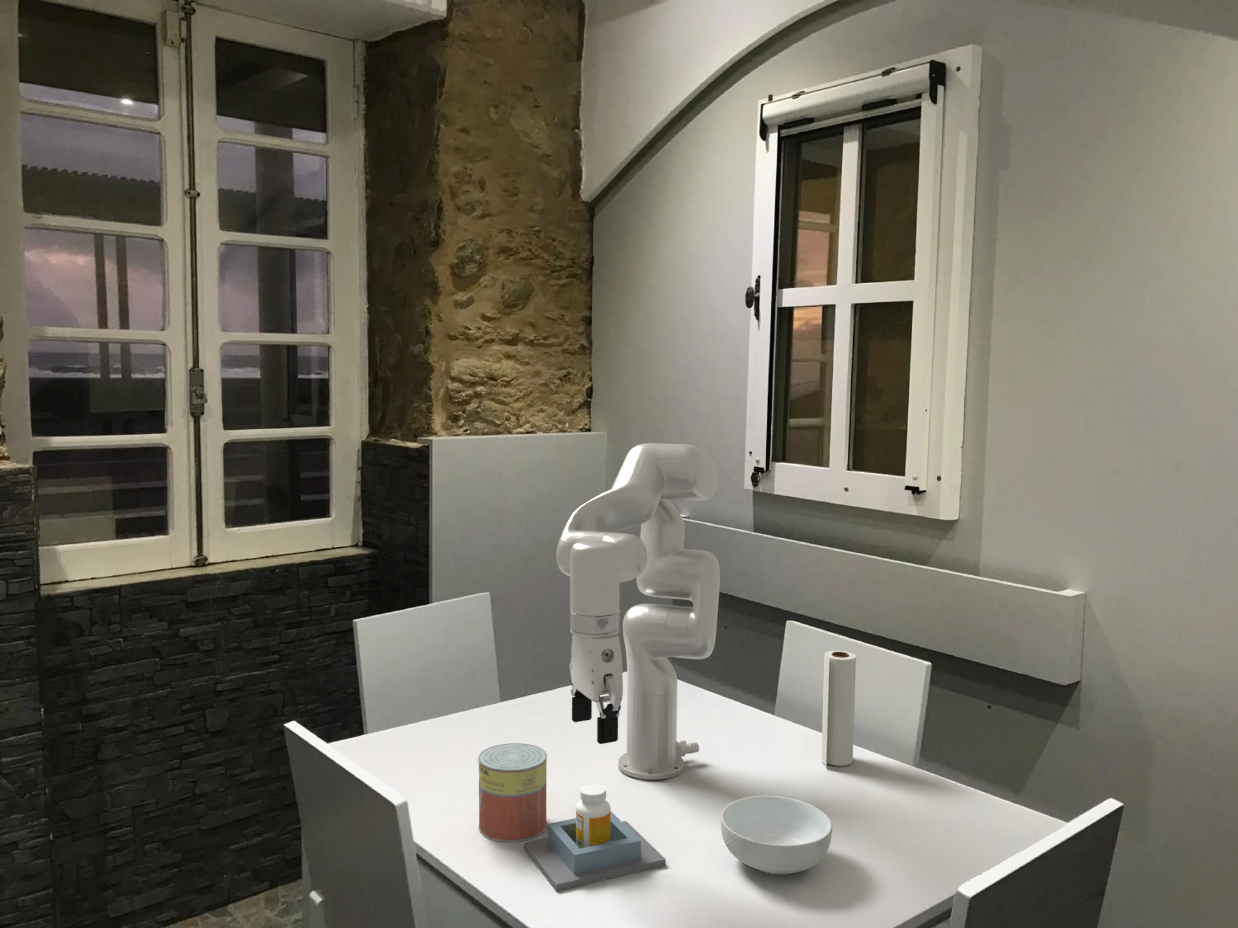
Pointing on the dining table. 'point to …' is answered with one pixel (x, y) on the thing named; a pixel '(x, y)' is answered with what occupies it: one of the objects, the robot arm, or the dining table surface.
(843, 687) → the paper towel roll
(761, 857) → the cereal bowl
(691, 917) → the dining table surface
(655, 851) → the caddy
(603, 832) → the supplement bottle
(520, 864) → the dining table surface
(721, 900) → the dining table surface
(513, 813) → the canned food
